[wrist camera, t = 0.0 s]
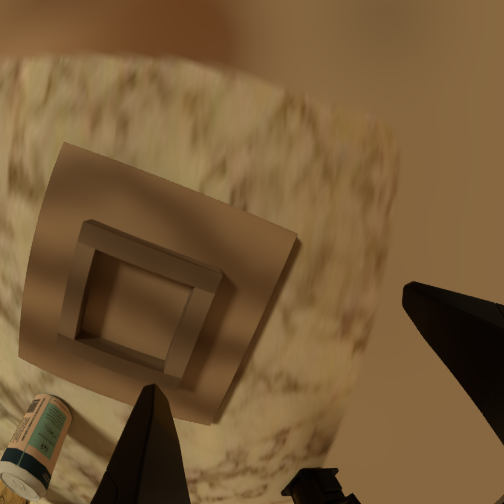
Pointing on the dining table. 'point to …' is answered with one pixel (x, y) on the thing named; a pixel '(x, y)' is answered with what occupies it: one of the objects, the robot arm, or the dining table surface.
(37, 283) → the brown square frame
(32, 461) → the beer can
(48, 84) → the dining table surface
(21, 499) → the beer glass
